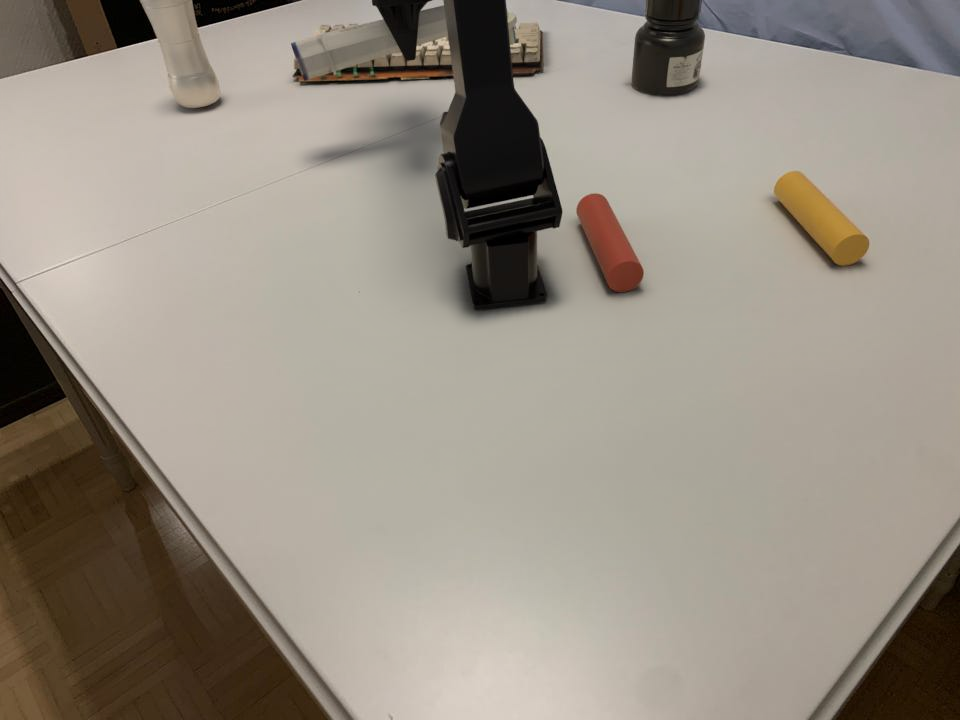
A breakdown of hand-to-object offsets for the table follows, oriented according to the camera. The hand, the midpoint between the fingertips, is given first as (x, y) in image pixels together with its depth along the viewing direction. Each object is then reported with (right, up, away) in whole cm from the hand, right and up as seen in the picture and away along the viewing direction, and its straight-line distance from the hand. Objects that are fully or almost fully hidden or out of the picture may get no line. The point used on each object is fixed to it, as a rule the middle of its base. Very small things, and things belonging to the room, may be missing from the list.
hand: (409, 52), depth 80 cm
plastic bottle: (-32, +1, +20) cm, 38 cm away
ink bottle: (+33, +3, +16) cm, 37 cm away
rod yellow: (+40, -23, -13) cm, 47 cm away
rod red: (+20, -25, -14) cm, 35 cm away
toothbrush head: (0, -1, +1) cm, 1 cm away
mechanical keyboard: (-1, +12, +29) cm, 32 cm away
